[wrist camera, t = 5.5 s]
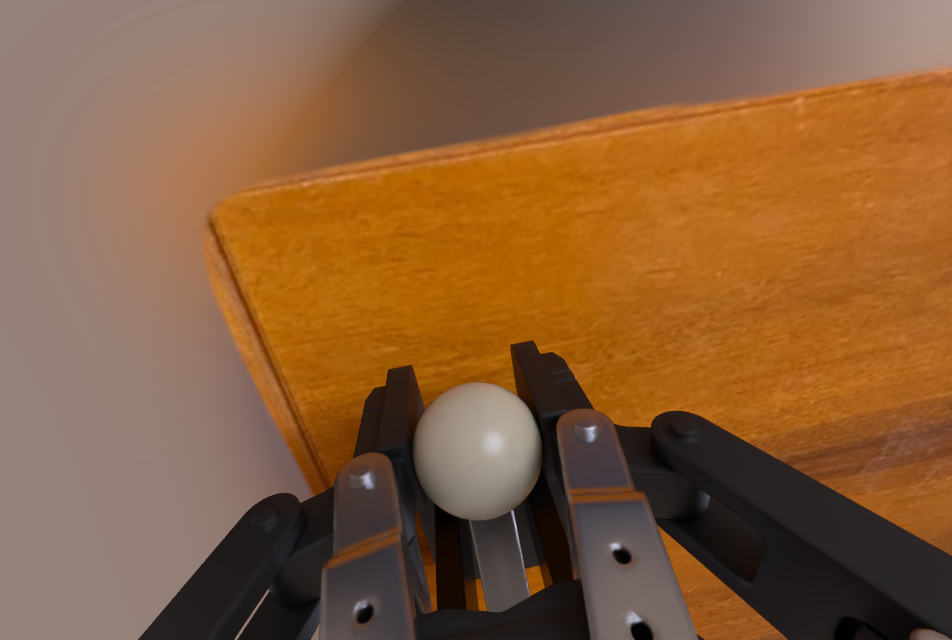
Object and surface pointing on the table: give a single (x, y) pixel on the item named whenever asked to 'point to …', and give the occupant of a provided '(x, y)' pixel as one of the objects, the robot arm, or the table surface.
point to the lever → (482, 476)
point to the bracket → (537, 536)
